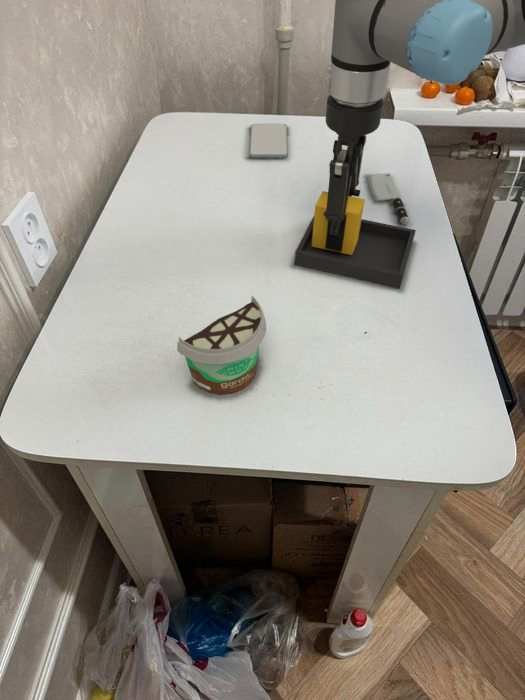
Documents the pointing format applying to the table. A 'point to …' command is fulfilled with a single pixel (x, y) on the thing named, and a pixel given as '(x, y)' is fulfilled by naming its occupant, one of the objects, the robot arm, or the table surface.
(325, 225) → the yellow block
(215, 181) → the table surface
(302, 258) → the black shallow rectangular tray
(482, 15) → the robot arm
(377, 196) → the cleaver
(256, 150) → the rounded grey tile
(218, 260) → the table surface
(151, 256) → the table surface
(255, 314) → the food container
